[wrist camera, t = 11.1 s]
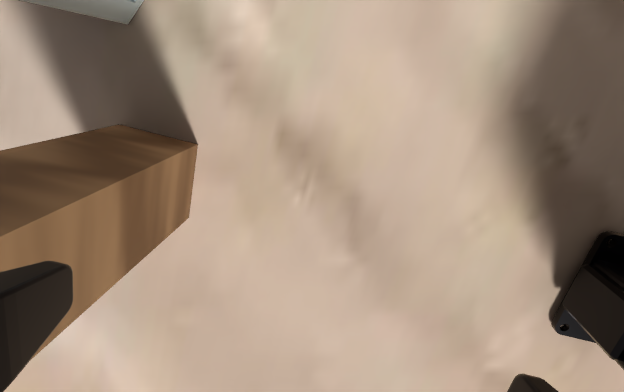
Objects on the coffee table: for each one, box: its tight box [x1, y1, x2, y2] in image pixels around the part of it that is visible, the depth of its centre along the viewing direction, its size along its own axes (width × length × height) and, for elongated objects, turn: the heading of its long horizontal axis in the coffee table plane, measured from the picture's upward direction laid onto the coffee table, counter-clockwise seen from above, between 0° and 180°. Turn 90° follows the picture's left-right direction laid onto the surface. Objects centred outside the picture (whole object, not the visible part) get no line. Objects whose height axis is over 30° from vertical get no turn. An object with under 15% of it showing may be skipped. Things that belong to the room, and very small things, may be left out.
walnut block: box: [0, 125, 198, 360], centre depth 14 cm, size 4×4×14 cm
